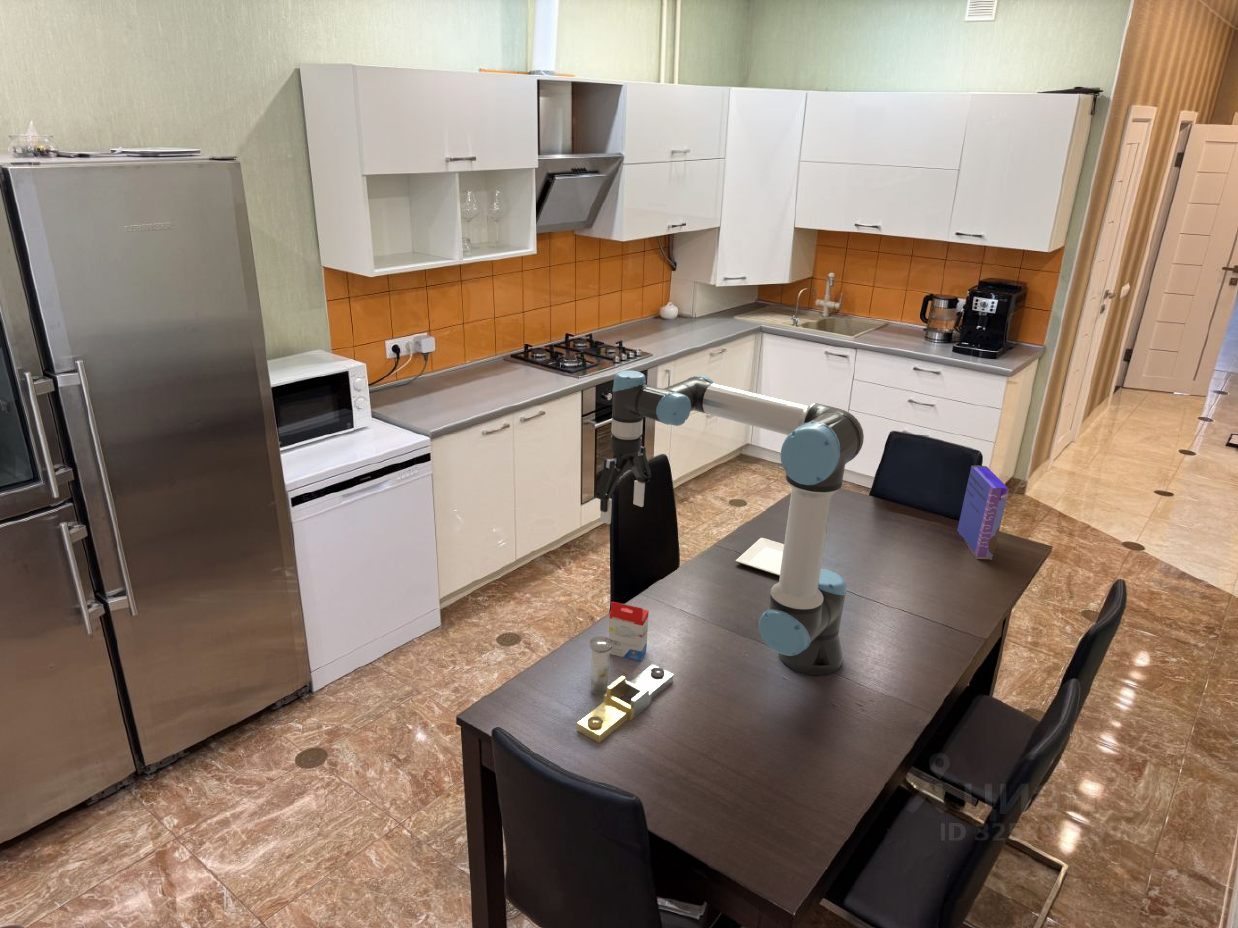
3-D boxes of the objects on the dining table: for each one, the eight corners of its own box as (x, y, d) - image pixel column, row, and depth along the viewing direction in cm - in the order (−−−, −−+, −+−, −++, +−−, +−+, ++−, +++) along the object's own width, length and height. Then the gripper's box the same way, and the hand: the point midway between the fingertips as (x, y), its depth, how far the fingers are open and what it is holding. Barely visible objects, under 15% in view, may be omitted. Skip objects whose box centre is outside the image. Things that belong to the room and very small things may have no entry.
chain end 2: (675, 682, 200) (677, 666, 198) (633, 718, 188) (634, 701, 186) (649, 670, 204) (650, 653, 202) (606, 703, 192) (607, 687, 190)
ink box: (646, 651, 211) (650, 599, 206) (640, 662, 207) (644, 609, 201) (614, 643, 214) (616, 591, 208) (607, 654, 209) (609, 601, 204)
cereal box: (992, 560, 264) (1009, 488, 255) (976, 559, 264) (993, 487, 255) (971, 534, 280) (986, 465, 271) (956, 533, 280) (971, 465, 271)
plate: (817, 560, 259) (818, 554, 258) (794, 585, 244) (795, 579, 244) (760, 542, 268) (761, 536, 267) (734, 566, 253) (735, 560, 253)
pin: (614, 689, 197) (617, 641, 192) (600, 700, 193) (603, 651, 188) (597, 680, 199) (599, 633, 194) (583, 690, 196) (585, 643, 191)
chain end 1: (648, 705, 192) (649, 689, 190) (601, 744, 179) (602, 726, 178) (621, 692, 196) (622, 675, 194) (574, 728, 183) (574, 711, 182)
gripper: (644, 418, 221) (639, 494, 229) (581, 443, 203) (578, 525, 211) (668, 425, 217) (662, 502, 225) (606, 452, 198) (602, 534, 206)
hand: (622, 513), depth 218 cm, fingers open, 13 cm apart
